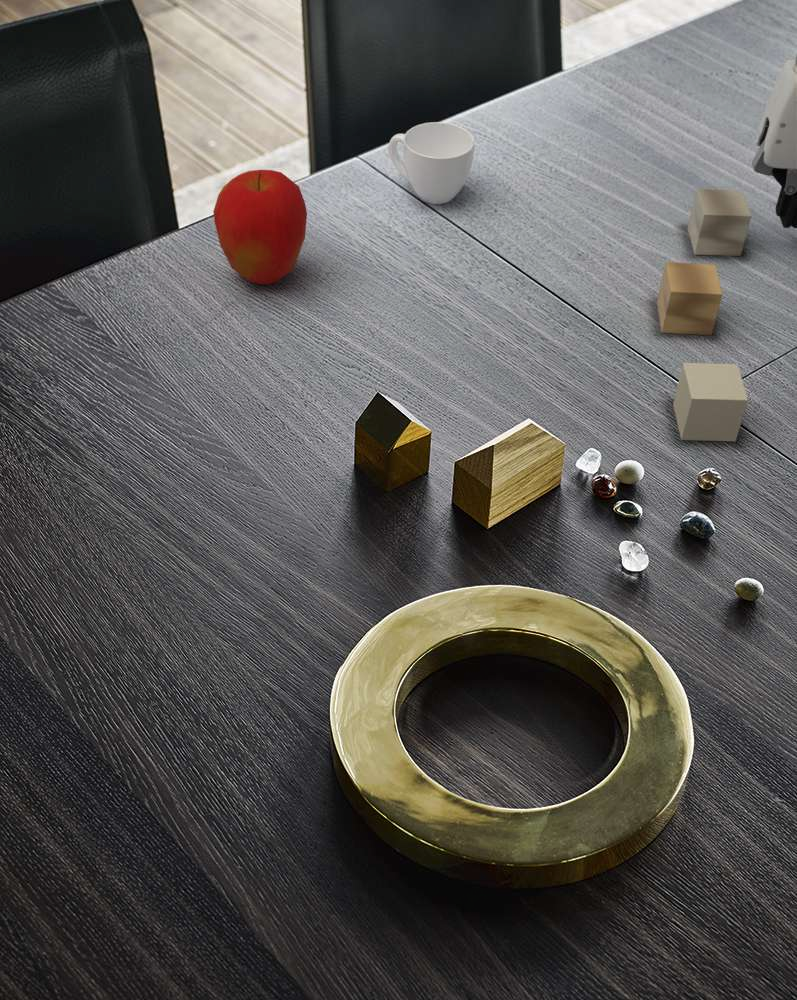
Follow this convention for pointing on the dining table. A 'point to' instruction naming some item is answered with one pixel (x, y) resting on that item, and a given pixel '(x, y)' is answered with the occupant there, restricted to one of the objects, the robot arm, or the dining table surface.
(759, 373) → the dining table surface
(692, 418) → the cream block
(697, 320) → the maple block
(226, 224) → the apple
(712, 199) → the ash block
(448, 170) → the cup
